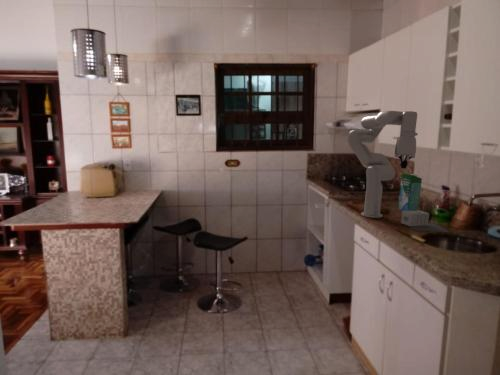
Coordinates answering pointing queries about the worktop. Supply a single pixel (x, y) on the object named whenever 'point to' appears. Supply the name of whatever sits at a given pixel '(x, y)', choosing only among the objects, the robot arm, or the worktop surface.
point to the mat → (429, 228)
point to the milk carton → (409, 192)
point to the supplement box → (415, 218)
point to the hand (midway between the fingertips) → (403, 168)
